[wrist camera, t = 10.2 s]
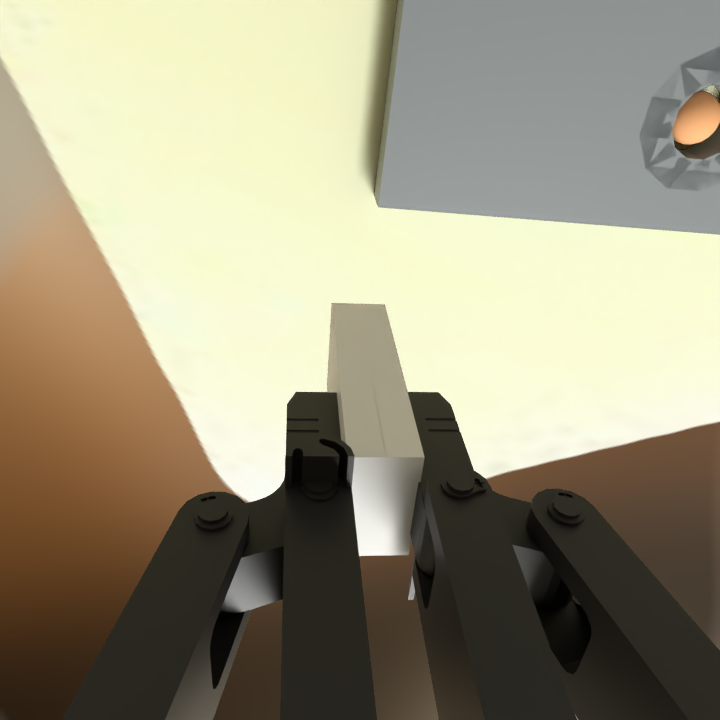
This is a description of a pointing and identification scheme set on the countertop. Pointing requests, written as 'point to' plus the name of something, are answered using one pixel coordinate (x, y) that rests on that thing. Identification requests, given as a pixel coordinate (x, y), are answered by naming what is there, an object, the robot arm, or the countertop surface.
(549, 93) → the plate
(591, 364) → the countertop surface
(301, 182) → the countertop surface
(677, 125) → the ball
